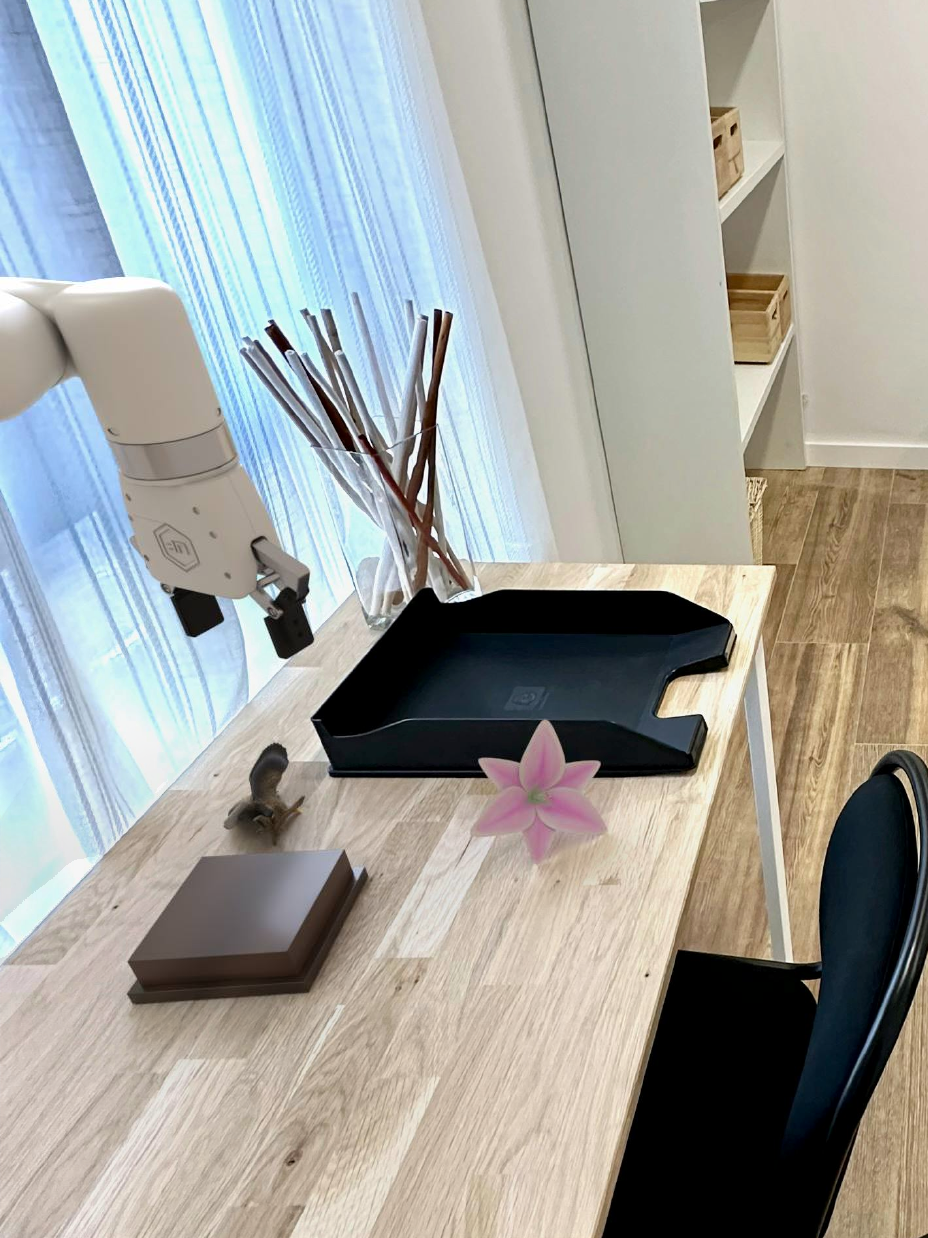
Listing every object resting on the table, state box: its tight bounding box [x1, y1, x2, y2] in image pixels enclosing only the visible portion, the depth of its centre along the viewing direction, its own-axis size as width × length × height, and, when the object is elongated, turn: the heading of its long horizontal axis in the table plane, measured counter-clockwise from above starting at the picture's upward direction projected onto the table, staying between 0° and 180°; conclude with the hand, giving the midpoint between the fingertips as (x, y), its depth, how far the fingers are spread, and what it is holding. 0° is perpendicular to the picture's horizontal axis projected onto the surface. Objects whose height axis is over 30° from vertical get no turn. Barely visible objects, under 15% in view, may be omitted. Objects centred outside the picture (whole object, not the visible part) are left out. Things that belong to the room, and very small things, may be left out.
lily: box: [469, 718, 608, 867], centre depth 101 cm, size 12×12×10 cm
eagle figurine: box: [223, 741, 306, 846], centre depth 101 cm, size 8×7×9 cm
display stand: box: [126, 848, 369, 1005], centre depth 90 cm, size 13×13×4 cm
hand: (251, 639), depth 92 cm, fingers open, 9 cm apart
